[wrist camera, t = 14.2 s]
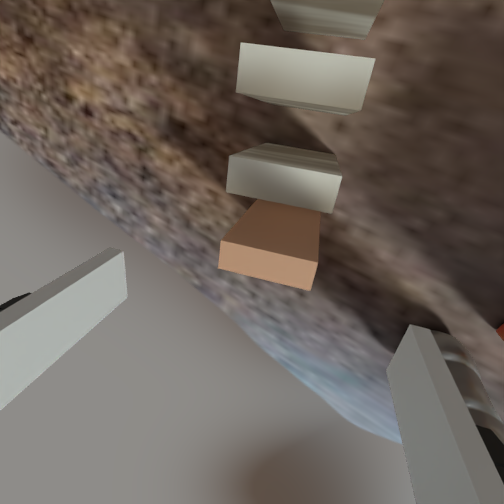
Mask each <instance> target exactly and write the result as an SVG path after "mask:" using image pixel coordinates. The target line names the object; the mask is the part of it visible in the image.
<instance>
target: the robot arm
mask: <svg viewBox="0 0 504 504" xmlns="http://www.w3.org/2000/svg"><path fill="white" fill-rule="evenodd" d="M126 298H127V286H126V273H125V262H124V251H121V250H118V249H114V248H108V249H106V250H104V251H103V252H101V253H99V254H98V255H96V256H94V257H93V258H91V259H89V260H88V261H86V262H84V263H82V264H81V265H79V266H77V267H76V268H74V269H72V270H71V271H69V272H67V273H65V274H64V275H62V276H60V277H59V278H57V279H55V280H54V281H52V282H50V283H49V284H47V285H45V286H43V287H42V288H40V289H38V290H37V291H35V292H33V293H27V294H24V295H21V296H18V297H16V298H13V299H11V300H9V301H7V302H6V303H4V304H2V305H0V410H1V409H3V408H4V407H5V406H6V405H7V404H8V403H9V402H10V401H12V400H13V399H14V398H15V397H16V396H17V395H18V394H19V393H21V391H23V390H24V389H25V388H26V387H27V386H28V385H29V384H31V383H32V382H33V381H34V380H35V379H36V378H37V377H39V375H41V374H42V373H43V372H44V371H45V370H46V369H47V368H49V367H50V366H51V365H52V364H53V363H54V362H55V361H56V360H58V359H59V358H60V357H61V356H62V355H63V354H64V353H65V352H67V351H68V350H69V349H70V348H71V347H72V346H73V345H74V344H76V343H77V342H78V341H79V340H80V339H81V338H82V337H83V336H85V335H86V334H87V333H88V332H89V331H90V330H91V329H92V328H93V327H95V326H96V325H97V324H98V323H99V322H100V321H101V320H102V319H104V318H105V317H106V316H107V315H108V314H109V313H110V312H112V311H113V310H114V309H115V308H116V307H117V306H118V305H119V304H120V303H122V302H123V301H124V300H125V299H126ZM386 372H387V377H388V381H389V386H390V390H391V395H392V399H393V403H394V408H395V412H396V417H397V421H398V425H399V430H400V434H401V439H402V443H403V448H404V452H405V456H406V461H407V465H408V469H409V474H410V479H411V483H412V487H413V492H414V496H415V501H416V504H504V444H503V443H502V442H501V441H500V439H499V438H498V437H497V436H496V435H495V434H494V432H493V431H492V430H491V429H488V428H485V427H482V426H478V425H475V423H474V421H473V419H472V417H471V415H470V413H469V410H468V408H467V406H466V404H465V402H464V400H463V398H462V396H461V394H460V392H459V390H458V387H457V385H456V383H455V381H454V379H453V377H452V375H451V373H450V371H449V369H448V366H447V364H446V362H445V360H444V358H443V356H442V354H441V352H440V350H439V348H438V345H437V343H436V341H435V339H434V337H433V335H432V333H431V331H430V329H427V328H423V327H419V326H415V325H411V324H410V325H409V327H408V329H407V331H406V333H405V335H404V337H403V339H402V341H401V343H400V344H399V346H398V348H397V350H396V352H395V354H394V356H393V358H392V360H391V362H390V364H389V366H388V368H387V370H386Z"/></svg>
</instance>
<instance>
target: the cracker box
mask: <svg viewBox="0 0 504 504" xmlns="http://www.w3.org/2000/svg"><path fill="white" fill-rule="evenodd" d="M496 332H497V333H498V335H499V336H500V337H501V338H502V340H503V341H504V323H503V324H502V325H501V326H500V327H499V328H498V329H497V330H496Z"/></svg>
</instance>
